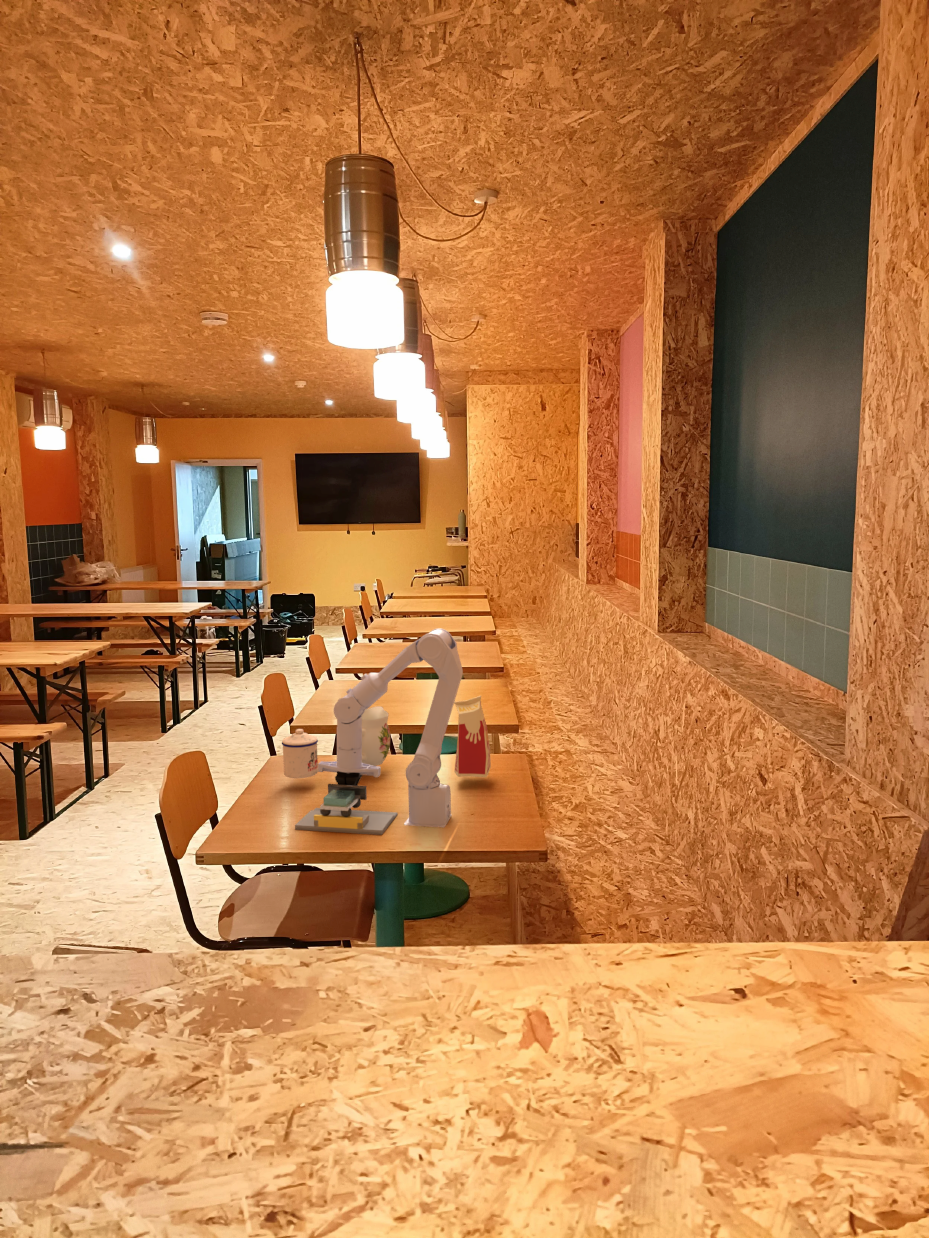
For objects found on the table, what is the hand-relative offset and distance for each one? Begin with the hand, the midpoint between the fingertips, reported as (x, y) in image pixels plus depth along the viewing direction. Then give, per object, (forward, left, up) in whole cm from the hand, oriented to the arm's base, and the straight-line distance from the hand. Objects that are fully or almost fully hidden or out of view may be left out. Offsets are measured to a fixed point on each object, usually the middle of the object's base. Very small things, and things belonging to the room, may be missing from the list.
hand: (348, 803), depth 185 cm
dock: (-1, +4, -3) cm, 5 cm away
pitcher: (+4, -29, 0) cm, 29 cm away
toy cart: (-1, +7, +1) cm, 7 cm away
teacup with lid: (+19, -19, 0) cm, 27 cm away
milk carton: (-24, -26, 0) cm, 36 cm away
